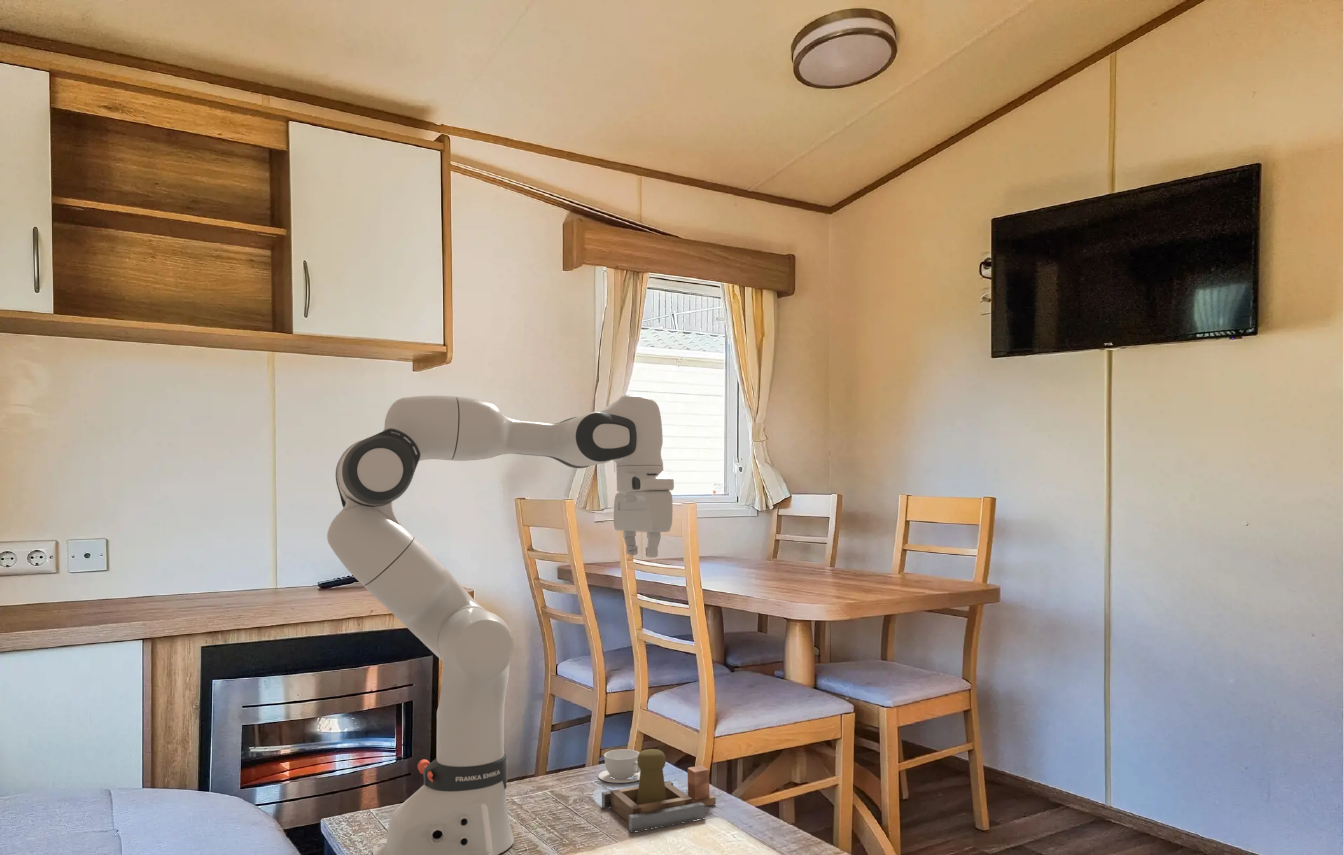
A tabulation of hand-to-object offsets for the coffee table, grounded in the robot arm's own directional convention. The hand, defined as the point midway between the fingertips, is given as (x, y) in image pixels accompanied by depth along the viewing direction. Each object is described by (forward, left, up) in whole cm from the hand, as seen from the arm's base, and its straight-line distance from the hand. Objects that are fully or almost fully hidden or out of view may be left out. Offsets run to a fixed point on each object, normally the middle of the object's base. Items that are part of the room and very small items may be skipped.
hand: (641, 556), depth 160 cm
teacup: (+4, +22, -47) cm, 52 cm away
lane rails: (+1, 0, -46) cm, 46 cm away
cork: (+1, 0, -47) cm, 47 cm away
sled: (+4, 0, -46) cm, 46 cm away
